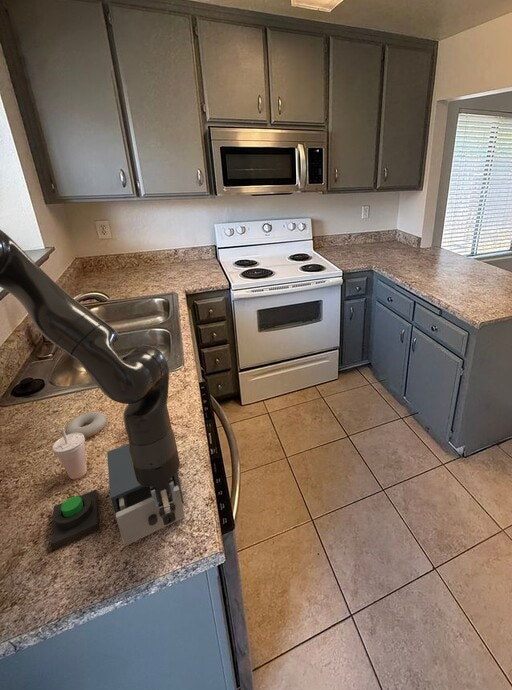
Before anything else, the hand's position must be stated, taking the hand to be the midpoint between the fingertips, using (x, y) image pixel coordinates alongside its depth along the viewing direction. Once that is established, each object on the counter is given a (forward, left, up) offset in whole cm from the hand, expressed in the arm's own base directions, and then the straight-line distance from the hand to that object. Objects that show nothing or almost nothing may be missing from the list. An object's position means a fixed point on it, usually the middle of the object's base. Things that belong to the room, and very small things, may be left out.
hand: (169, 520), depth 71 cm
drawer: (-3, +9, -4) cm, 10 cm away
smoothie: (-17, +31, -5) cm, 35 cm away
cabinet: (-3, +15, -5) cm, 16 cm away
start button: (-17, +16, -2) cm, 23 cm away
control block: (-17, +16, -5) cm, 23 cm away
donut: (-15, +48, -5) cm, 50 cm away
